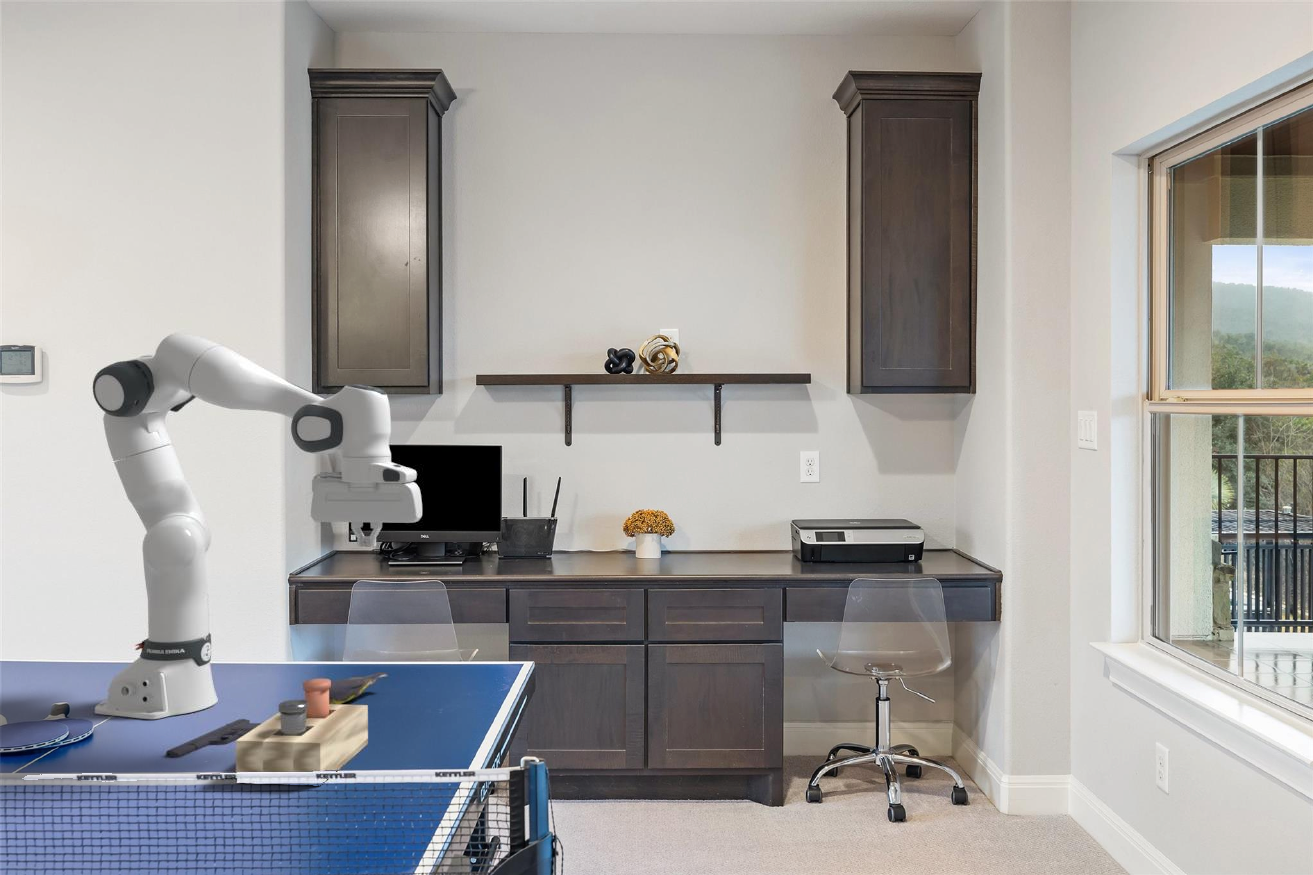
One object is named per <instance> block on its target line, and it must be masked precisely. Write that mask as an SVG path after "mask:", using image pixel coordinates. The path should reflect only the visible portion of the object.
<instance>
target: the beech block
mask: <svg viewBox="0 0 1313 875" xmlns="http://www.w3.org/2000/svg"><path fill="white" fill-rule="evenodd" d="M368 706H369V705H367V704H340V705H338V704H329V716H328V717H326V718H325V719H321V718H306V733H305V734H303V735H302V736H282V735H281V713H279V712H278V713H276V714H274V715H272V716H271V717H270V718H268V719H267V720H265V721H264V722H262V724H261V725H259V726H257V727H256V728H254V729H253V730H251V731H250V732H248V733H247V734H245V735H244V736H242V737H241V738H239V739H236V740H235V773H236V772H313V771H325V770H338V771H339V770H341V769H342V768H343V767H344V766H346V764H348V762H350V760H352V759H353V758H354V757H355V756H356V755H357V754H358V753H359V752H361V751H362V750H363V749H364V748H365V747H366V746H367V745H369V711H368V710H369V707H368ZM343 765H344V766H343ZM341 767H342V768H341Z"/></svg>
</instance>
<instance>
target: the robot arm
mask: <svg viewBox="0 0 1313 875" xmlns="http://www.w3.org/2000/svg"><path fill="white" fill-rule="evenodd" d="M92 393H93V397H94V400H95V402H96V404H97V405H98V407H99V408H100V409H101V411H103V412H104V414H103V418H102V420H103V427H104V433H105V438H106V443H107V446H108V450H109V452H110V455H111V459H112V460H113V464H114V466H115V470H117V473H118V476H119V480H120V481H121V484H122V487H123V490H124V492H125V495H126V497H127V500H128V501H129V502H130V503H131V505H132V507H133V508H134V510H135V512H136V513H137V515H138V516H139V519H140V521H141V522H142V525H143V527H144V528H145V531H146V533H145V535H144V537H143V540H142V541H143V542H142V557H143V558H142V560H143V571H144V572H143V573H144V580H145V587H146V588H145V589H146V595H147V615H148V616H147V619H148V620H147V624H148V625H147V627H148V628H147V629H148V631H147V632H148V636H147V638H146V639H143V641H141V642H139V643H137V644H135V645H134V646H135V647H136V648H135V651H138V650H140V649H141V652H140V654H139V657H138V658H137V659H136V660H134V661H133V662H132V663H130V664H129V665H128V666H126V668H124V669H123V670H122V671H120V672H119V673H117V675H115V676H114V677H113V678H112V680H111V682H110V685H109V688H108V692H107V698H106V699H105V700H102V701H101V702H100V703H98V704H97V705H95V708H94V714H97V715H106V716H115V717H126V718H135V719H144V720H158V719H162V718H166V717H171V716H176V715H183V714H188V713H193V712H198V711H201V710H204V709H207V708H210V707H211V706H214V705H215V704H217V703H218V701H219V699H218V697H217V696H218V695H217V692H216V689H215V686H214V681H213V680H214V679H213V674H212V669H211V668H212V666H211V659H212V635H211V633H210V632H209V631H210V630H209V629H210V628H209V627H210V625H209V624H210V623H209V619H210V618H209V613H210V612H209V611H210V610H209V592H208V591H209V590H208V583H207V570H206V553H207V552H208V551H209V548H210V546H211V543H212V542H211V541H212V533H211V530H210V527H209V525H208V523H207V521H206V518H205V516H204V514H203V511H202V509H201V507H200V505H199V502H198V501H197V499H196V497H195V494H194V492H193V491H192V489H191V487H190V485H189V482H188V480H187V478H186V475H185V472H184V470H183V467H182V465H181V462H180V459H179V457H178V455H177V451H176V449H175V447H174V443H173V442H172V439H171V437H170V434H169V432H168V429H167V426H166V416H167V415H168V413H169V411H171V412H174V413H177V412H179V411H180V410H182V408H184V407H185V406H186V405H187V404H189V403H191V402H192V401H194V400H195V399H196V398H197V399H199V400H201V401H203V402H206V403H208V404H211V405H213V406H217V407H221V408H226V409H230V410H240V411H241V410H242V411H245V410H246V411H261V412H270V413H275V414H279V415H283V416H285V417H288V418H290V419H292V420H291V425H290V433H291V438H292V439H293V441H294V443H295V445H296V446H297V448H299V449H300V450H302V451H303V452H306V453H310V454H316V455H323V454H324V455H328V454H329V455H333V454H340V455H341V459H340V460H341V463H340V464H341V469H340V470H341V471H334V472H333V471H331V472H328V471H322V472H321V471H320V472H319V473H318V474H316V475H314V476H313V478H312V481H311V492H312V498H311V507H310V517H311V519H312V520H313V521H314V522H316V523H320V522H321V523H351V524H350V525H351V526H350V528H351V530H352V532H353V533H354V535H355V537H356V538H357V540H356V541H357V542H356V545H357V547H359V548H360V547H363V548H365V547H366V548H367V547H368V548H374V547H376V545H377V537H378V535H379V534H380V531H381V530H382V528H383V523H390V524H391V523H398V524H399V523H401V524H402V523H405V524H409V523H411V524H412V523H416V522H419V521H420V520H421V518H422V516H423V502H422V494H421V489H420V487H419V486H418V484H417V483H416V482H414V481H416V480H417V476H418V473H417V471H416V469H413V468H411V467H406V466H404V465H401V464H398V463H395V462H392V452H391V450H390V439H391V438H390V437H391V435H392V422H391V420H392V419H391V417H392V416H391V407H390V401H389V397H388V394H387V393H386V392H385V391H384V390H383V389H381V388H379V387H376V386H372V385H371V386H370V385H365V384H363V385H362V384H357V383H353V384H352V383H351V384H346V385H345V386H344V387H343V388H342V389H341V390H339V391H338V392H337V393H335V394H333V395H332V396H328V397H327V398H326V397H324V396H321V395H318V394H316V393H314V392H312V391H309V390H307V389H306V388H303V387H301V386H298V385H296V384H294V383H292V382H290V381H287V380H285V379H284V378H282V377H280V376H278V375H276V374H275V373H273V372H271V371H269V370H268V369H266V368H264V367H262V366H260V365H258V364H256V362H254V361H252V360H250V359H249V358H247V357H245V356H243V355H241V354H240V353H238V352H236V351H234V350H232V349H230V348H228V347H226V346H224V345H222V344H220V343H218V342H215V341H213V340H210V339H208V338H205V337H202V336H199V335H195V334H192V333H186V332H175V333H171V334H169V335H167V336H166V337H164V338H163V339H162V340H161V341H160V343H159V344H158V346H157V348H156V350H155V353H154V354H147V355H142V356H139V357H137V358H136V357H135V358H133V359H128V360H124V361H123V360H122V361H117V362H114V363H111V364H109V365H107V366H104V367H103V368H101V369H100V370H99V371H98V372H97V373H96V374H95V376H94V378H93V382H92ZM364 523H370V529H372V531H371V533H370V535H369V536H365V534H364V533H363V531H362V529H361V528H363V526H364Z"/></svg>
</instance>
